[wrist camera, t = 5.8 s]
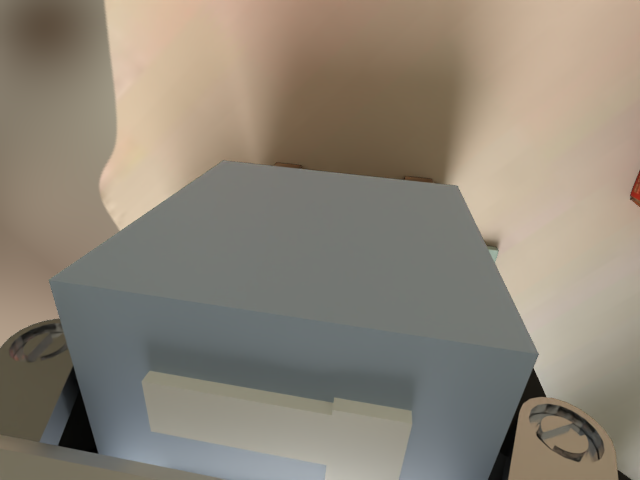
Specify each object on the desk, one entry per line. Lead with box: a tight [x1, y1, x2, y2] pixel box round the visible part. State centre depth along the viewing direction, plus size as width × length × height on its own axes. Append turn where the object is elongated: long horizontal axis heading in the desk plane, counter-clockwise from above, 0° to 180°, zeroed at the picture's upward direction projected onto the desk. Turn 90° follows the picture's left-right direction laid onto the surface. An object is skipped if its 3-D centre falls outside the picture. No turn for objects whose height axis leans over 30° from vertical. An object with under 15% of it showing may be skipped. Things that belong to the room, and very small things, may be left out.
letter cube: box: [49, 160, 539, 480], centre depth 9 cm, size 6×6×6 cm
